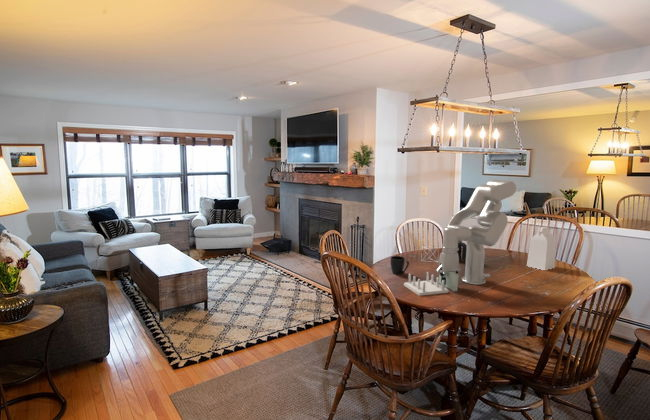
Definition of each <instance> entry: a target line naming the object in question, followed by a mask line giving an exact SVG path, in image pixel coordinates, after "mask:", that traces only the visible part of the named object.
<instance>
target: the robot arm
mask: <svg viewBox="0 0 650 420" xmlns="http://www.w3.org/2000/svg"><path fill="white" fill-rule="evenodd" d="M516 192H517V185H516V183H515V182H514V181H511V180H504V179H502V180H501V179H490V180H488V181H487V182H486V183H485V184H479V185H477V186H476V187H475V189H474V190H473V192H472V194H471V196H470V198H469V200H468V202H467V203H466V205H465V207H463V208H462V209H460V210H459V211H458V212H456V213H455V214H454V215H453V216H452V217H451V219H450V221H449V222H448V224H447V226H446V227H444V228H443V230H442V231H443V232H442V233H443V235H442V248H441V249H442V252H440V254H439V257H438V264H437V266H438V267H437V269H436V270H435V273H437V274H438V275H439V274H440V276H441V283H442V280H445V281H444V285H446V278H445V276H446V272H454V273H456V274H458V275H459V272H461V270H462V268H461V267H460V262H459V256H458V253H457V251H458V250H459V248H458V241H462V242H466V243H465V244H466V245H467V250H466V259H465V265H464V266H465V269H464V276H462V277H461V282H463V283H466V284H470V285H475V286H476V285H478V286H479V285H484V284H486V283H487V280H486V278H490V277H491V275H490V273H484V269H485V267H484V266H485V254H486V251H485V247H484V246H486V247H487V246H488V247H493V246H495V245H496V244H497V242H499V239H501V236H502V234H503V233H504V231H505V229H506V228H507V225H508V215H507V214H506V213H504V212H502V211H501V209H502V207H503V205H502V204H503V203H502V201H503V200H505V199H508V198H510V197H512V196H514V195H515V193H516ZM475 217H477V218H476V222H477V224H478V225H470V226H468V227H467V226H464V225H461V224H462V223H463V222H464V221H466V220H468V219H470V218H471V219H472V218H475ZM440 270H442V271H441V272H440ZM443 273H444V274H443Z"/></svg>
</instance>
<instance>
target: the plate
mask: <svg viewBox="0 0 650 420" xmlns="http://www.w3.org/2000/svg"><path fill="white" fill-rule="evenodd" d="M441 271H442V270H440V272H441ZM443 274H444V273H443ZM438 277H439V285H442V283H441V276H440V274H439V273H438ZM445 278H446V285H444V287H445V288H446V289H448V290H451V291H453V292H458V286H459V273H458V274H456V273H454V272H446V276H445Z"/></svg>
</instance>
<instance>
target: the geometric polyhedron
mask: <svg viewBox="0 0 650 420" xmlns="http://www.w3.org/2000/svg"><path fill="white" fill-rule="evenodd" d="M427 247H428V248H427ZM429 247H430V246H427V245H426V246H425V245H421V248H422V250H423V251H424V252H425V256H424V257H423V256H422V255H423V254H421V259H420V261H421V262H424V261H426V262H430V263H431V262H432V261H433V262H435V263H439V260H438V258H436V256H435V254H434V252H436V251H438V249H439V247H438V246H436V247H433V248H431V249H429ZM425 249H427V250H428V252H426V250H425ZM434 249H435V251H434V252H433V251H432V250H434ZM430 252H431V255H428V254H429V253H430ZM426 256H427V258H426ZM432 256H434V258H435V259H436V260H435V259H434V260H433V258H431V257H432ZM428 259H430V261H428ZM431 260H432V261H431Z"/></svg>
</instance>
